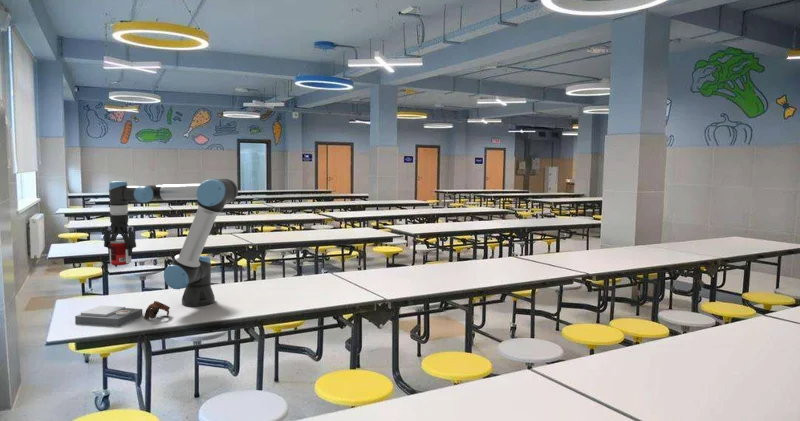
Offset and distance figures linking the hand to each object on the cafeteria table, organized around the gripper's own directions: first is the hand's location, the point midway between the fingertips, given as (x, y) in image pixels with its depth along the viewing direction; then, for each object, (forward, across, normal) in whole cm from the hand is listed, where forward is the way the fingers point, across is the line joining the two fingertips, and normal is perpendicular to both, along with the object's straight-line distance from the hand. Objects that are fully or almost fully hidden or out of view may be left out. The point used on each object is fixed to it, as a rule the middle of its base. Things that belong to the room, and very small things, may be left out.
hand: (120, 262), depth 252 cm
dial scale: (+21, -10, +21) cm, 31 cm away
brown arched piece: (+21, -28, +15) cm, 38 cm away
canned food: (+1, 0, 0) cm, 1 cm away
